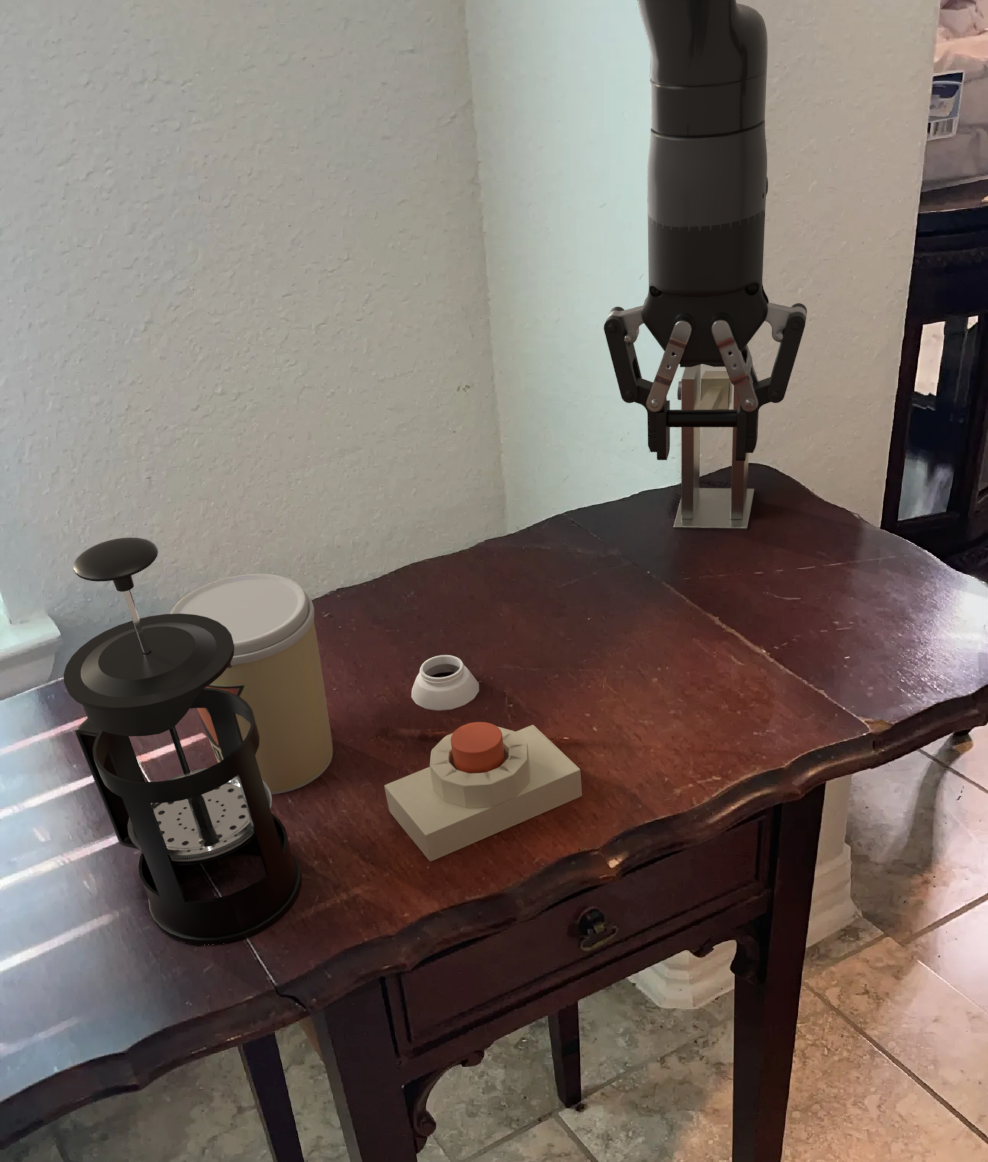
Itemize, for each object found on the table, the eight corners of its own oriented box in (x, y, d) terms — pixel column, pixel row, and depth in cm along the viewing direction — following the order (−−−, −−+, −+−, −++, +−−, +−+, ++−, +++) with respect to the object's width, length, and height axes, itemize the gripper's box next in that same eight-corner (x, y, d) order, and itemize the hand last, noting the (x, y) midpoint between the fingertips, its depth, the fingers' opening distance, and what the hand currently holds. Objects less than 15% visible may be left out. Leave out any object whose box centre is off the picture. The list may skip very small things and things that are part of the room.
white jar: (465, 674, 93) (402, 695, 92) (460, 639, 91) (396, 660, 90) (492, 708, 89) (427, 730, 88) (488, 672, 87) (421, 694, 86)
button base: (535, 750, 85) (530, 701, 83) (582, 796, 81) (579, 746, 78) (388, 811, 82) (378, 762, 79) (430, 862, 78) (421, 812, 75)
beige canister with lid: (189, 756, 89) (140, 606, 81) (307, 705, 92) (271, 555, 84) (245, 822, 83) (198, 666, 75) (369, 765, 86) (337, 609, 78)
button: (489, 738, 81) (486, 715, 79) (514, 762, 78) (511, 739, 77) (445, 756, 80) (441, 733, 79) (468, 781, 78) (465, 758, 76)
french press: (338, 859, 79) (254, 517, 63) (262, 963, 73) (149, 613, 57) (182, 825, 83) (67, 496, 68) (97, 921, 77) (-50, 584, 61)
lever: (736, 437, 90) (738, 402, 89) (666, 437, 92) (667, 402, 90) (749, 402, 100) (751, 370, 99) (686, 402, 101) (687, 370, 100)
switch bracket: (746, 541, 103) (752, 384, 95) (673, 539, 105) (672, 385, 96) (754, 501, 108) (760, 349, 100) (683, 500, 110) (683, 350, 101)
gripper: (586, 224, 80) (597, 478, 92) (818, 216, 77) (800, 480, 88) (605, 190, 86) (613, 434, 97) (823, 181, 82) (805, 434, 94)
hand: (702, 455), depth 93 cm, fingers closed on lever, 5 cm apart
